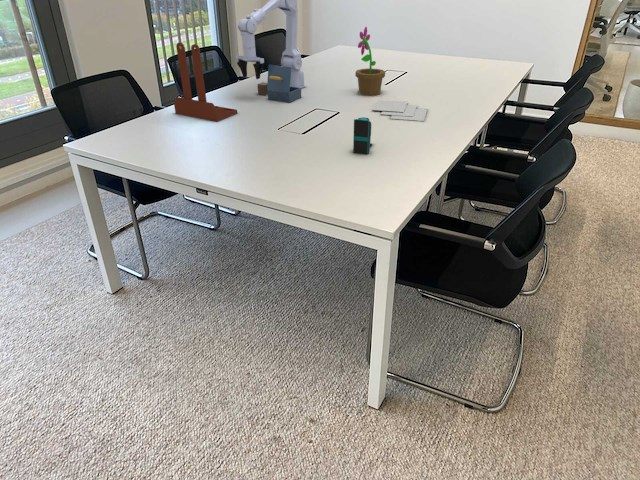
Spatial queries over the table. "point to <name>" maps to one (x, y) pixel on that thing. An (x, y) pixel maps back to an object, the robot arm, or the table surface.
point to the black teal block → (362, 136)
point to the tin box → (285, 95)
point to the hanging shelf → (199, 106)
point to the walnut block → (262, 88)
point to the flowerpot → (368, 71)
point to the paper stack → (400, 110)
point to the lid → (279, 78)
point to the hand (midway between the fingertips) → (251, 77)
